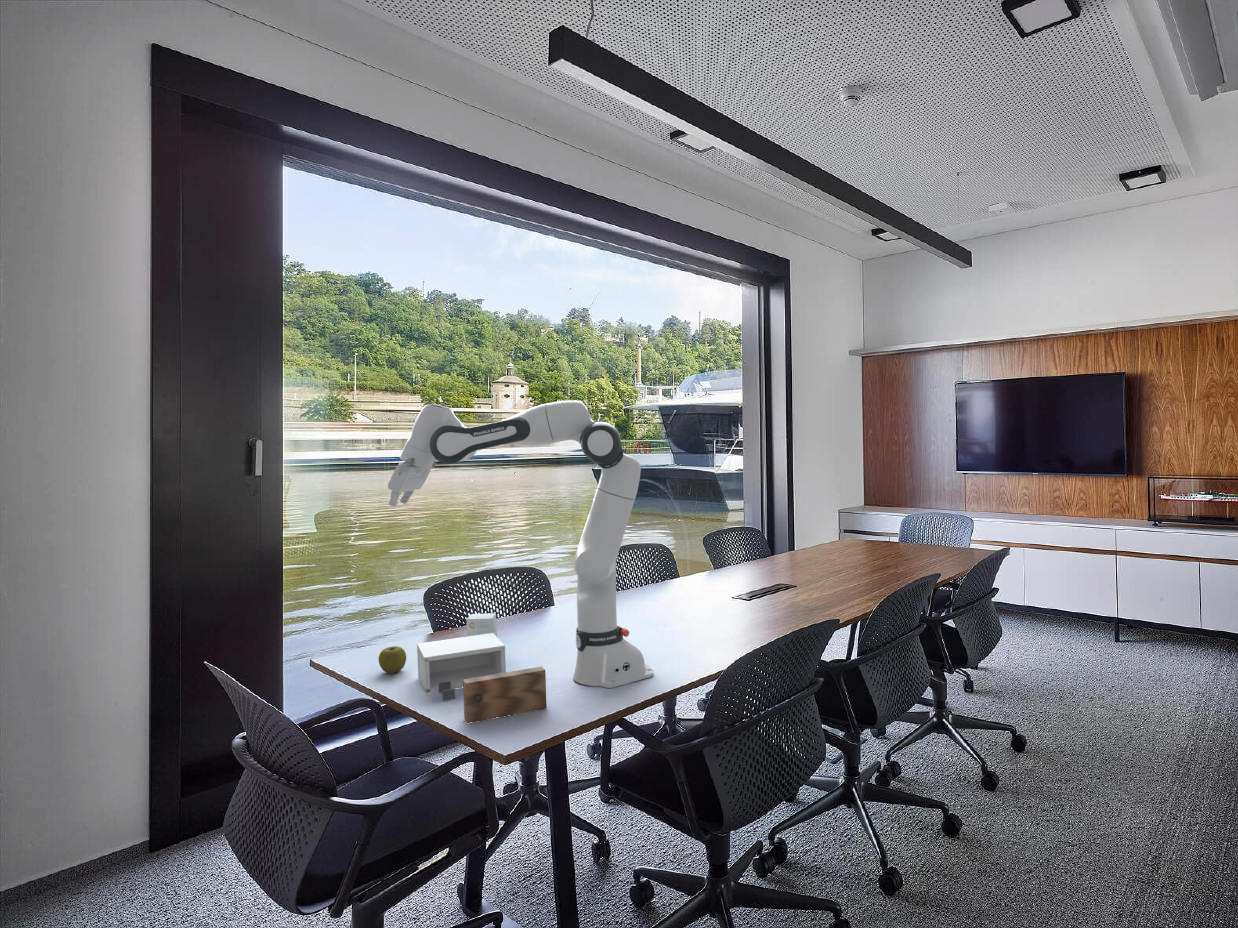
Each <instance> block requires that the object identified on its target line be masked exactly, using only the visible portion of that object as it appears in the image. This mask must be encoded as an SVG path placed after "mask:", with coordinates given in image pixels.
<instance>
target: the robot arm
mask: <svg viewBox="0 0 1238 928" xmlns="http://www.w3.org/2000/svg"><path fill="white" fill-rule="evenodd" d="M415 419H416V420H415V421H414V424H413V425H412V429H411V434H410V436H409V438H408V439H407V441H406V443H405V444H404V447H403V449H402V451H401V453H400V455H399V459H400V460H401V461H402V462H399V463H398V464H397V465H396V467H395V469H394V471H393V473H392V474H391V477H390V480H389V482H388V484H387V489H388V490H390V491H391V492H390V499H389V501H388V505H389V506H390V507H393V508H394V507H396V506H397V505H398V502H399V501H400V503H401V504H407V503H408V502H409V500H410V498H411V497H412V496H413V494H414V492H415V491H416V490H420V489H421V488H422V487H423V486H424V484H425V482H426V480H427V478H428V477H429V475H430V472H431V471H432V469H434V468H435V466H436V463H437V461H438V462H440V463H442V464H445V465H453V464H455V463H461V462H464V461H468V460H470V459H471V458H473V457H474V455H475V454H476V453H477V451H481V450H485V449H491V448H494V447H498V446H499V447H501V446H503V445H504V446H506V445H520V446H531V447H532V446H544V445H551V444H552V445H553V444H555V443H560V442H564V441H575V442H577V443H579V444H580V447H581V450H582V453H583V454H584V455H585V457H587V458H588V460H589V461H591V462H593V463H594V464H596V465H597V466H599V467H600V468H601V469H600V470H601V472H600V476H599V481H598V483H597V485H596V486H597V487H596V490H595V493H594V495H593V500H592V503H591V505H590V508H589V509H590V510H589V512H588V516H587V518H586V521H585V525H584V528H583V530H582V533H581V537H580V539H579V541H578V545H577V548H576V552H575V555H574V558H573V569H574V571H575V573H576V575H577V582H576V584H577V586H576V587H577V590H576V618H577V619H576V620H577V623H576V624H577V627H576V628H575V630H576V631H575V633H576V635H575V643H576V644H575V645H576V649H577V652H576V653H577V654H576V664H575V668H574V673H573V676H572V677H573V681H575V682H576V683H578V684H581V685H585V686H591V687H601V688H602V687H603V688H608V689H609V688H610V689H613V688H617V687H619V686H623V685H626V684H630V683H633V682H637V681H640V680H644V679H648V678H652V677H653V675H654V671H653V669H652V667H650V665H648V664H647V663H645V659H644V656H643V653H642V651H641V650H640V649H638V648H637V646H635V645H633V644H632V643H631V642H629V641H628V640H626V639H625V638H627V637H628V636H629V635H630V633H631V632H630V630H628V629H627V628H626V627H625V628H623V627H621V626H619V625H618V621H617V620H618V619H617V563H616V562H617V560H618V555H619V553H620V552H619V551H620V550H621V545H622V542H623V540H624V536H625V532H626V530H627V525H628V523H629V520H630V516H631V514H632V510H633V507H634V504H635V502H636V501H635V500H636V497H637V493H638V490H639V485H640V484H639V483H640V479H641V469H642V467H641V464H640V462H639V461H638V460H637V459H636V458H634V457H633V456H631V455H629V454H626V453H624V450H623V446H622V445H623V444H622V439H621V435H620V433H619V430H618V429H617V428H616V427H615V426H613V425H612V424H610V423H608V422H604V421H598V420H595V419H592V417H591V415H590V411H589V409H588V407H587V406H586V405H585V403H583V402H582V401H580V400H576V399H575V400H562V401H553V402H547V403H543V404H539V405H537V406H533V407H531V408H528V409H525V410H523V411H521V412H519V413H516V414H513V415H512V416H510V417H507V418H505V419H503V420H499V421H496V422H491V423H485V424H482V425H477V426H471V427H467V426H465V425H464V424H463V422H461V420H459V418H458V417H457V416H456V415H455V413H454V411H453V409H452V408H450V407H448V406H443V405H441V404H435V403H428V404H426V405H424V406H423V407H422V408H421V410H420V411H419V414H418V415H417V418H415ZM402 493H403V495H401V494H402ZM400 496H401V498H400V500H399V497H400ZM624 637H625V638H624Z"/></svg>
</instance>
